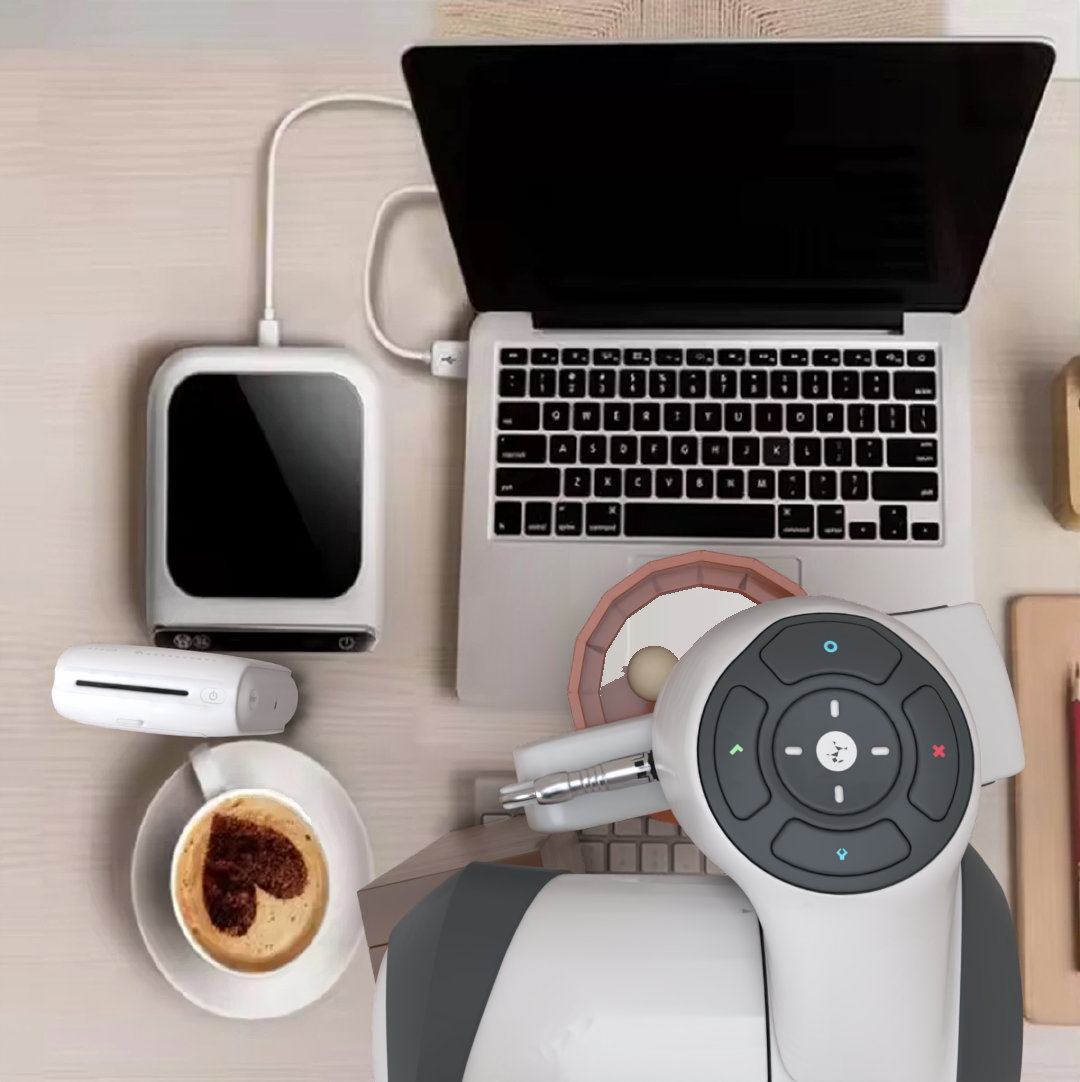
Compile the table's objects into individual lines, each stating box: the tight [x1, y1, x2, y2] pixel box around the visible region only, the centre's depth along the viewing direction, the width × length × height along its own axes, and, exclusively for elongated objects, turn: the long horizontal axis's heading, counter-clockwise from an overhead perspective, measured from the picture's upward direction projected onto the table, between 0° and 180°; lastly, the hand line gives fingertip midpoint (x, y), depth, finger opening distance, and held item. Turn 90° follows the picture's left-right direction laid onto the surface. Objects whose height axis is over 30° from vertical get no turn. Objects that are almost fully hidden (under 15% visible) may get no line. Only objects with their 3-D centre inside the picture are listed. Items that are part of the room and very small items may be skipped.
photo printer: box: [50, 642, 299, 738], centre depth 73 cm, size 10×4×12 cm, turn 84°
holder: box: [356, 814, 587, 985], centre depth 64 cm, size 7×7×26 cm
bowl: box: [566, 549, 809, 826], centre depth 75 cm, size 14×14×6 cm
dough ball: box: [627, 646, 679, 701], centre depth 76 cm, size 3×3×3 cm
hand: (743, 732), depth 64 cm, fingers closed
